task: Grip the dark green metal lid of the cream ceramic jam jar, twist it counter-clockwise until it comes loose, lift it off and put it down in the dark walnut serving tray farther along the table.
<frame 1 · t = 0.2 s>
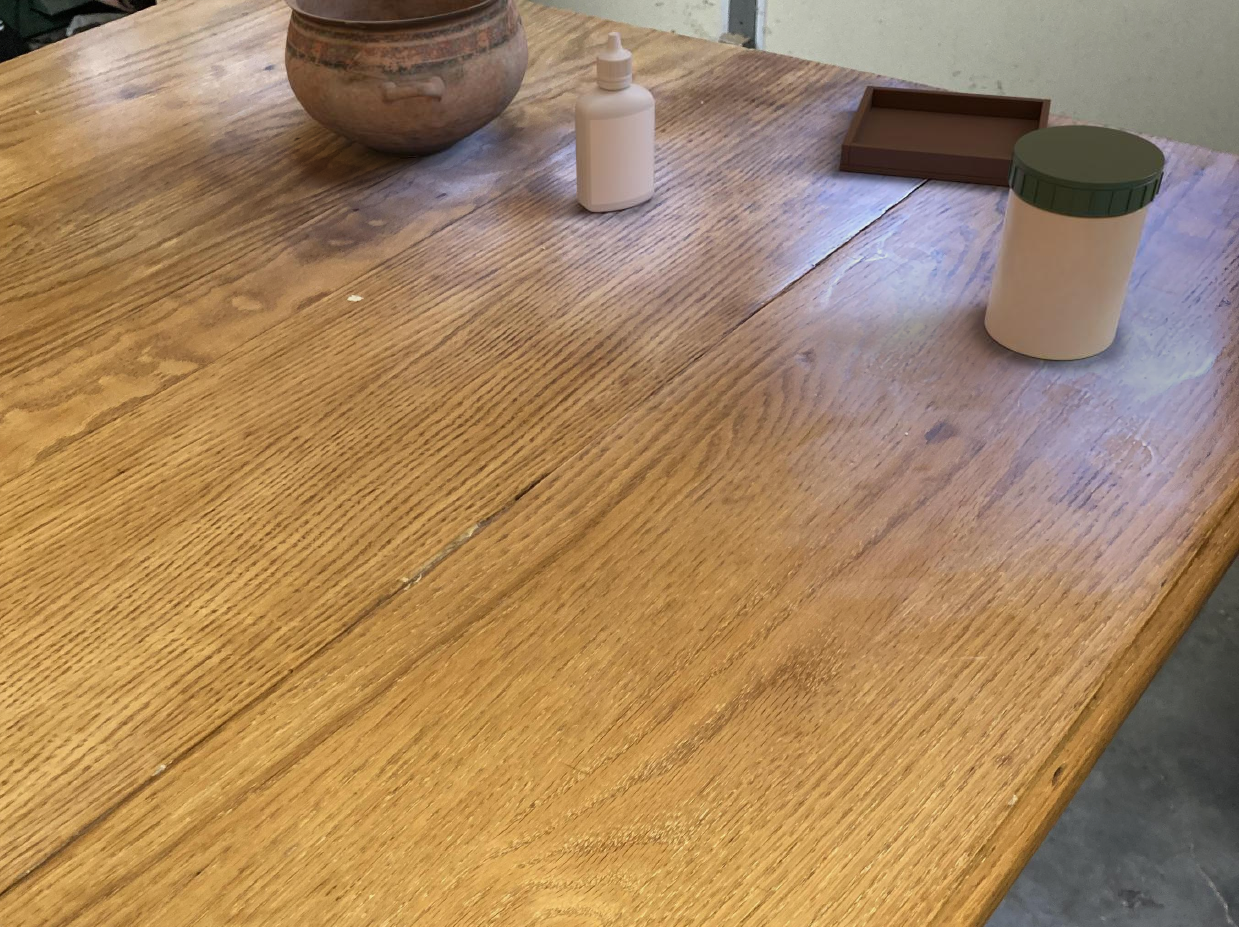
cooking pot: (417, 143, 107), on the table
jam jar: (1048, 327, 81), on the table
jar lid: (1087, 159, 74), point 11 cm above the table, screwed on, not yet turned
tray: (945, 146, 102), on the table
eye dropper bottle: (615, 203, 97), on the table
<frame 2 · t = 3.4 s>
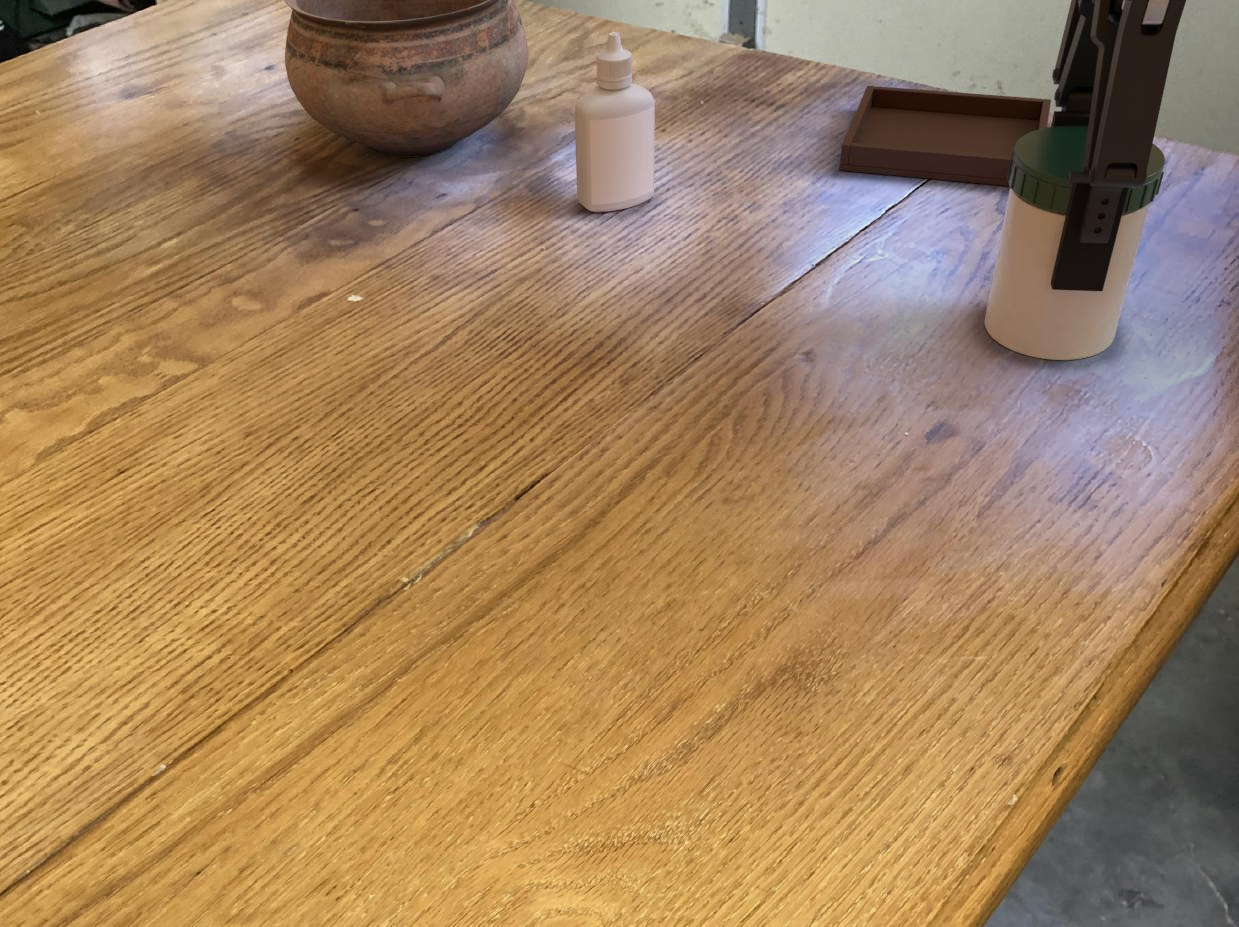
hand: (1065, 251, 78), 5 cm above the table, tool pointing down, fingers closed on jar lid, 8 cm apart
jar lid: (1087, 159, 74), point 11 cm above the table, screwed on, not yet turned, touching gripper
everything else where it was.
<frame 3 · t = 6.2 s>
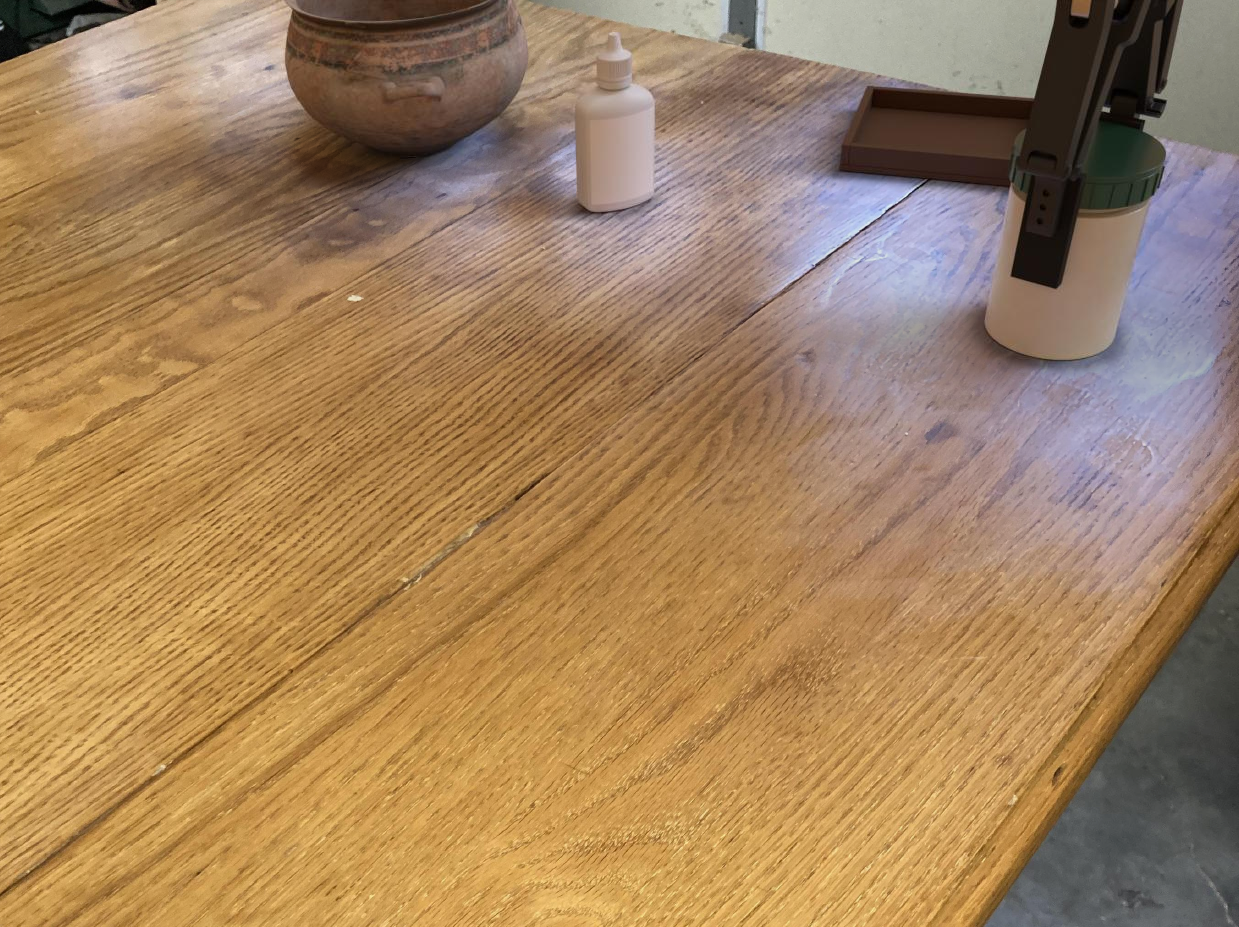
hand: (1065, 250, 77), 5 cm above the table, tool pointing down, fingers closed on jar lid, 8 cm apart
jar lid: (1087, 153, 74), point 11 cm above the table, off its thread, touching gripper
everything else where it was.
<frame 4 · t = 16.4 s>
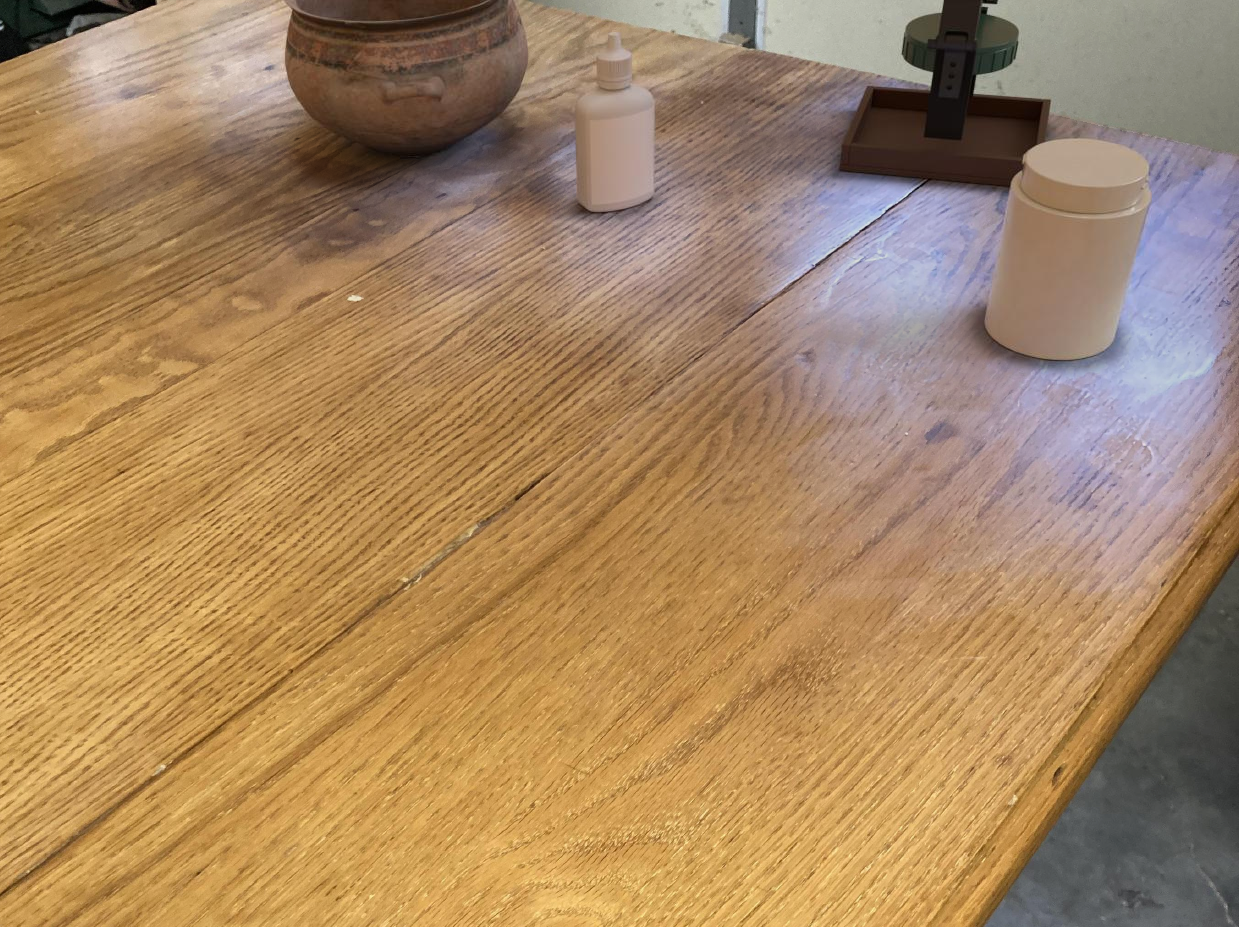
hand: (949, 114, 100), 3 cm above the table, tool pointing down, fingers closed on jar lid, 8 cm apart
jar lid: (961, 35, 96), point 8 cm above the table, off its thread, touching gripper
everything else where it was.
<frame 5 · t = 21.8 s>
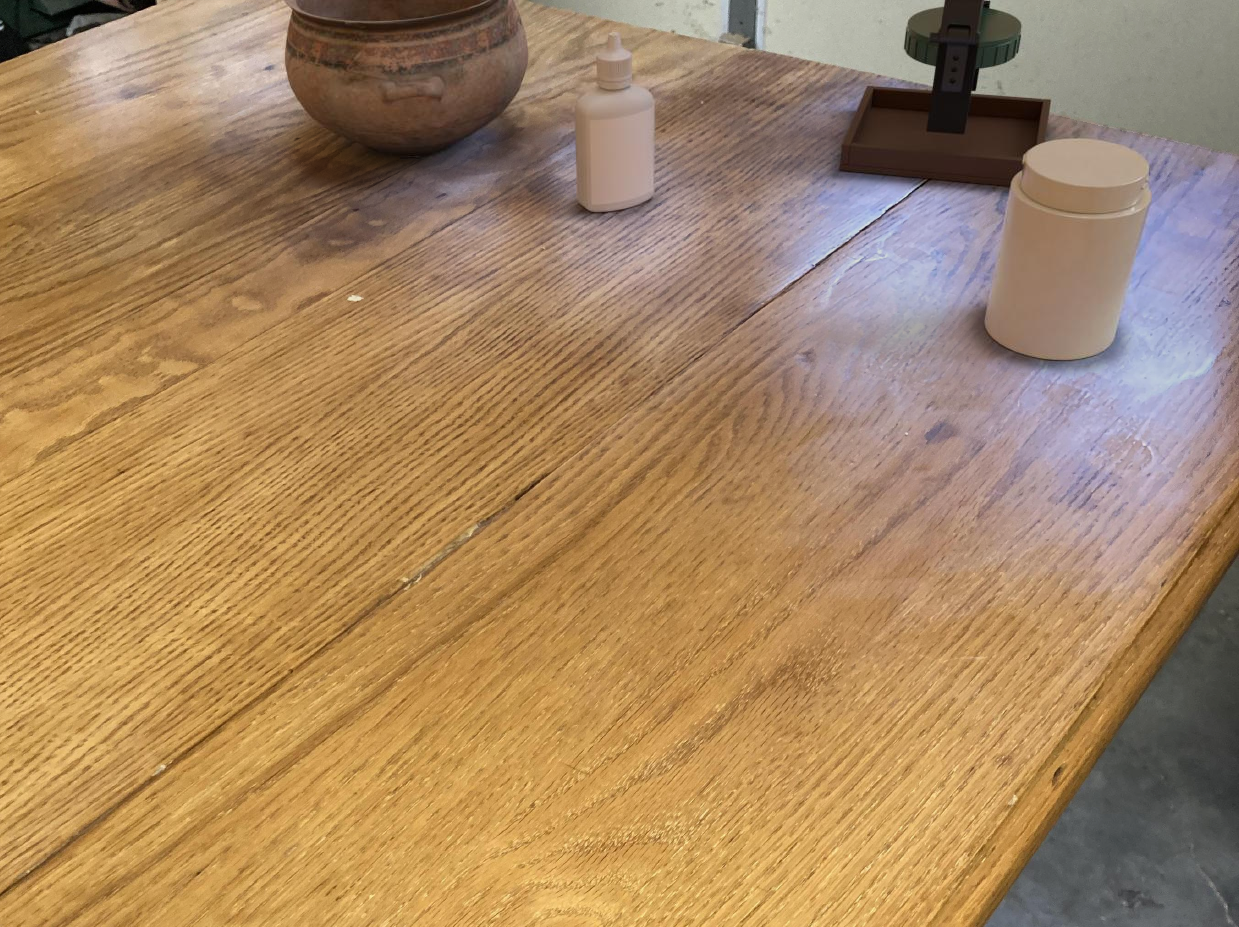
hand: (952, 108, 100), 3 cm above the table, tool pointing down, fingers closed on jar lid, 8 cm apart
jar lid: (963, 29, 96), point 9 cm above the table, off its thread, touching gripper
everything else where it was.
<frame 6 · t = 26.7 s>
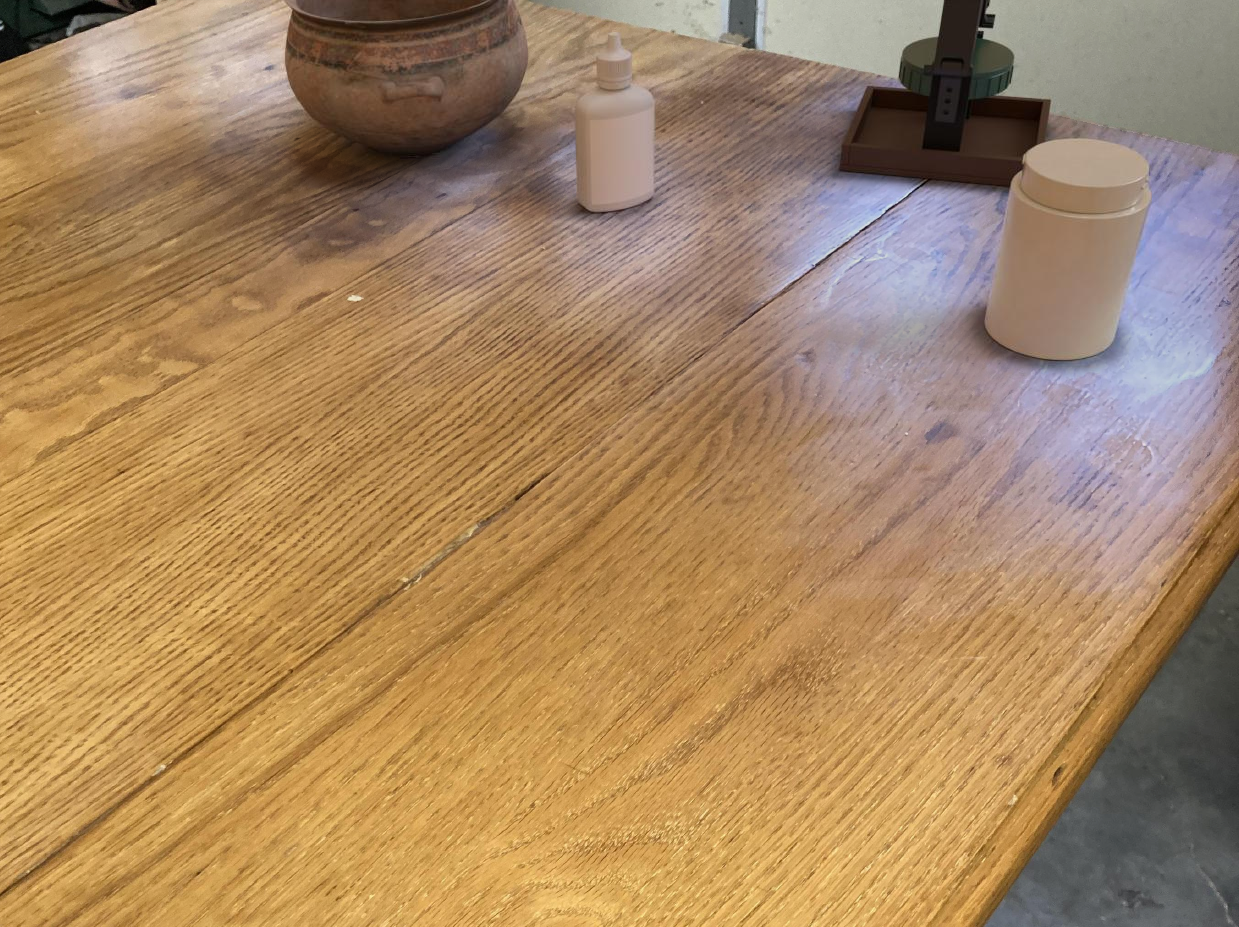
hand: (945, 136, 101), 1 cm above the table, tool pointing down, fingers closed on jar lid, 8 cm apart
jar lid: (957, 59, 97), point 7 cm above the table, off its thread, touching gripper
everything else where it was.
when the fingers open (3 cm above the table, at t = 27.6 s): jar lid drops 7 cm, resting on tray.
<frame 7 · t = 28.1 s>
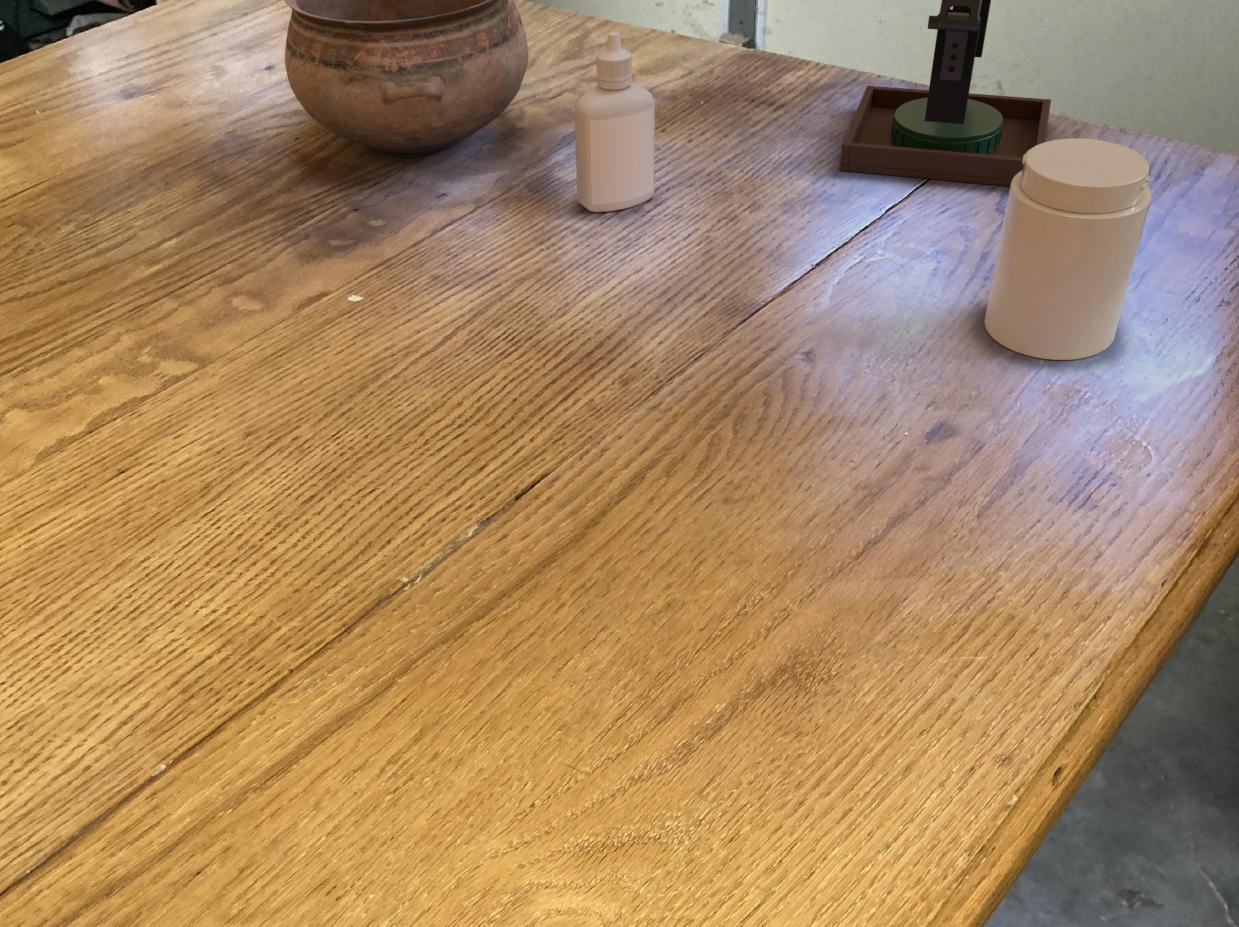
hand: (954, 86, 99), 5 cm above the table, tool pointing down, fingers open, 13 cm apart
jar lid: (947, 121, 100), point 2 cm above the table, off its thread, touching tray
everything else where it was.
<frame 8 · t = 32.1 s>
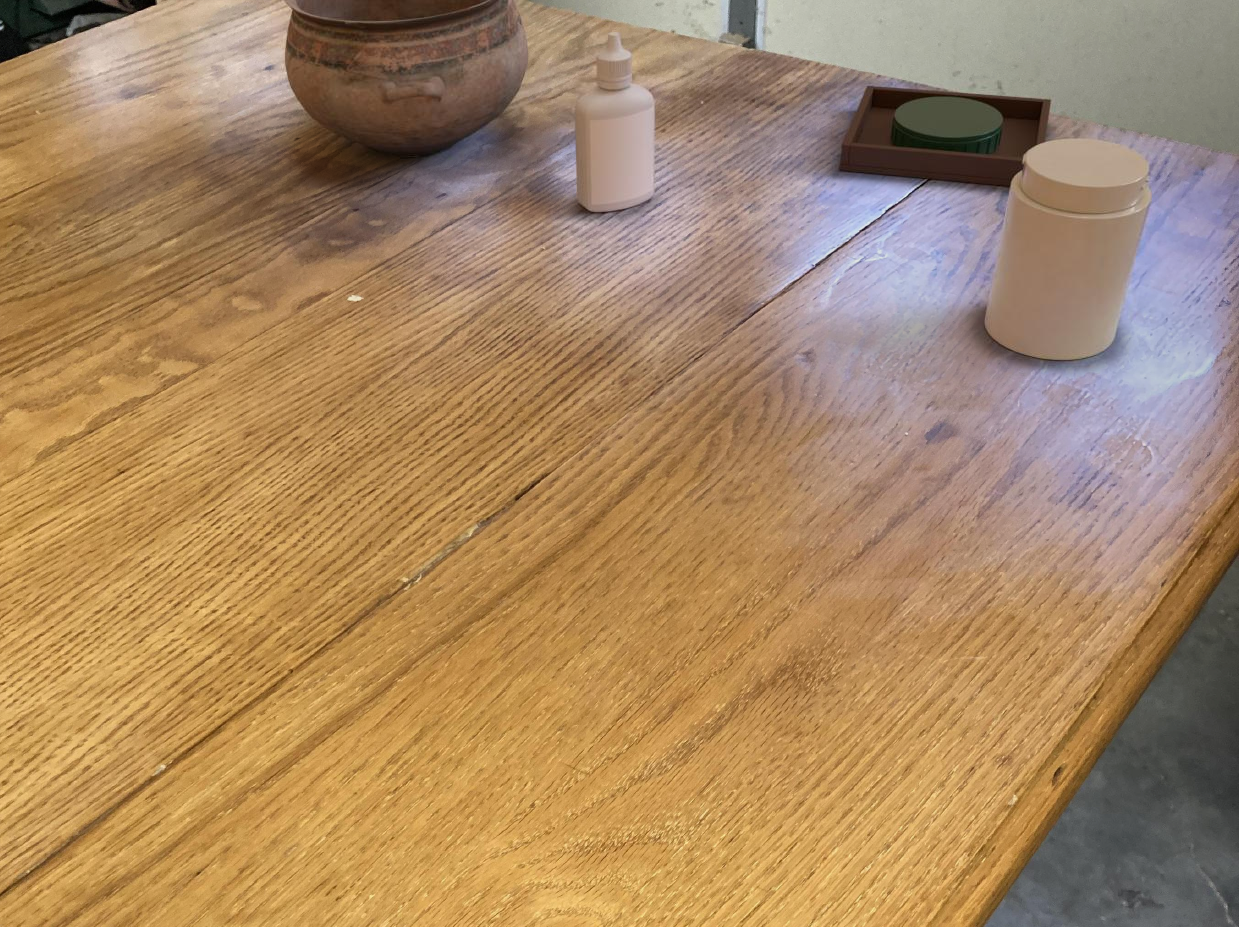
nothing on the table moved.
at the end: jar lid came off its thread; jar lid inside the target area in the tray (0.1 cm from its centre), point 2.0 cm above the tray's base; the gripper is holding nothing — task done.
